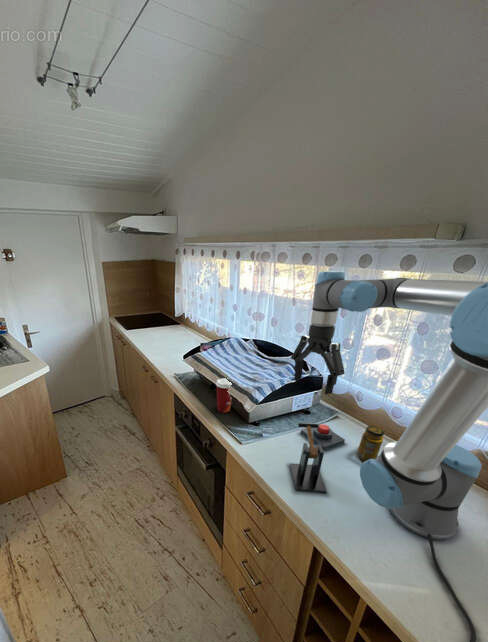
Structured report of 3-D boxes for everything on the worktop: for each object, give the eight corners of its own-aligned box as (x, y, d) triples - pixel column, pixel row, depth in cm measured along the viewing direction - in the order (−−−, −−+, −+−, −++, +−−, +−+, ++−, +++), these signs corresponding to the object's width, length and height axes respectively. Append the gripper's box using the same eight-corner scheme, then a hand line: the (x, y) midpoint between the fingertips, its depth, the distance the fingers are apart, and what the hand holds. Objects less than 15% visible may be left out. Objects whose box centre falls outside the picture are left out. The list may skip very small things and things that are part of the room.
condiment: (381, 459, 106) (391, 431, 100) (367, 468, 102) (377, 439, 96) (360, 448, 111) (369, 421, 106) (347, 457, 107) (355, 429, 102)
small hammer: (297, 425, 101) (299, 420, 99) (316, 426, 100) (318, 422, 98) (302, 457, 93) (303, 453, 91) (322, 459, 92) (324, 455, 91)
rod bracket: (289, 466, 104) (294, 435, 98) (316, 468, 103) (324, 437, 97) (295, 492, 93) (302, 459, 87) (325, 494, 92) (335, 461, 86)
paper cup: (233, 413, 134) (234, 385, 127) (215, 413, 134) (216, 385, 128) (231, 405, 141) (232, 377, 134) (214, 405, 141) (215, 377, 134)
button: (330, 432, 114) (331, 428, 113) (323, 435, 113) (324, 430, 112) (323, 427, 117) (324, 423, 116) (316, 430, 116) (317, 425, 115)
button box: (343, 444, 114) (346, 435, 112) (323, 451, 110) (325, 442, 108) (319, 428, 123) (321, 419, 122) (300, 434, 120) (301, 425, 118)
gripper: (367, 330, 87) (351, 397, 96) (301, 316, 108) (293, 373, 117) (349, 333, 84) (334, 402, 93) (285, 319, 105) (278, 376, 114)
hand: (312, 386), depth 105 cm, fingers open, 13 cm apart
